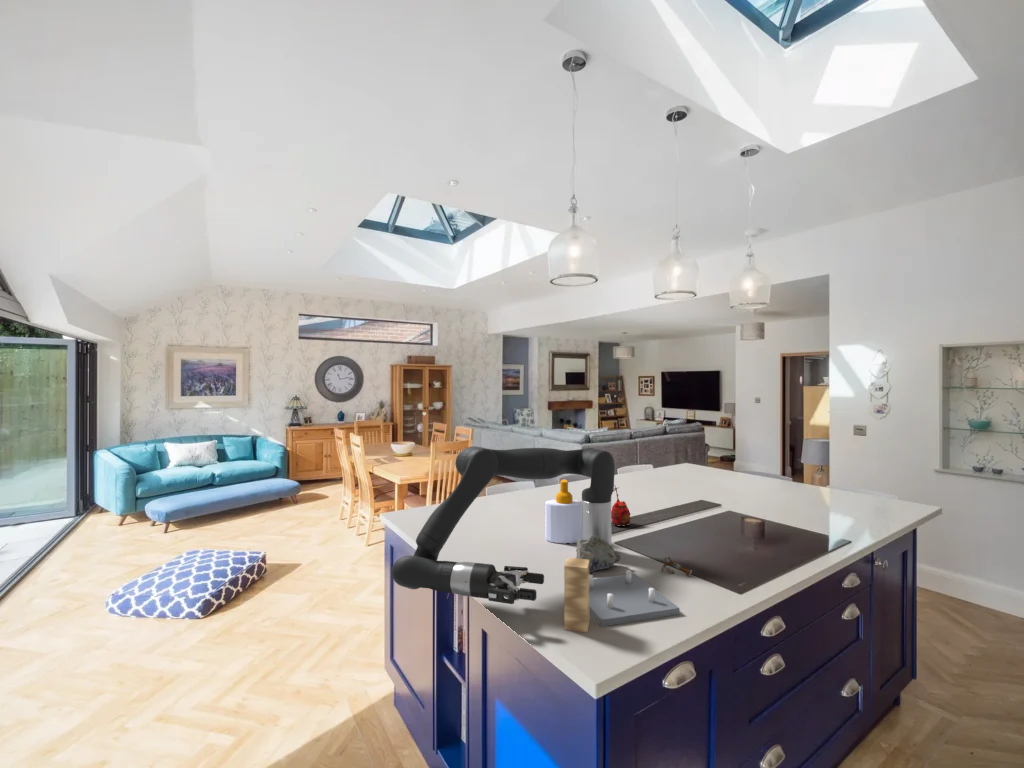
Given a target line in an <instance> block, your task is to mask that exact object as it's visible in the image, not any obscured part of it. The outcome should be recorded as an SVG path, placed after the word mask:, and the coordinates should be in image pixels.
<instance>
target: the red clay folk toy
mask: <svg viewBox="0 0 1024 768" xmlns="http://www.w3.org/2000/svg"><path fill="white" fill-rule="evenodd" d="M619 488H620V487H616V485H615V484H614V489H613V492H614V491H615V493H616V499H617V500H616V502H615V503H613V505H612V506H611V524H612V525H614V524H615V525H627V524H629V523H630V524H631V513H630V509H629V508H628V506H627V502H625V501H624V500H623V501H620V498H619V494H618V489H619Z"/></svg>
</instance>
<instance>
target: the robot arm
mask: <svg viewBox="0 0 1024 768" xmlns="http://www.w3.org/2000/svg"><path fill="white" fill-rule="evenodd" d="M454 464H455V469H456V471H457V472H458V474H459V475H461V479H460V481H459V483H458V484H457V485H456V487H455V488H454V490H453V491H452V492H451V493H450V495H448V496H447V497H446V498H445V500H443V501H442V503H440V504H439V506H437V507H436V508H435V509H434V510H433V512H432V513H431V514H430V516H429V517H428V519H427V520H426V521H425V523H424V525H423V526H422V528H421V530H420V531H419V533H418V534H417V536H416V539H415V543H416V549H415V551H414V554H413V555H404V556H402V557H400V558H398V559H397V560H396V561H395V562H394V563H393V566H392V567H391V577H392V579H393V581H394V582H395V584H397V585H398V586H400V587H403V588H407V589H410V590H417V589H420V588H421V589H429V590H432V591H436V592H439V593H440V592H441V593H447V594H456V595H458V596H463V597H471V598H479V599H488V601H490V602H495V603H502V604H507V605H515V602H517V601H519V600H524V601H531V602H532V601H534V602H535V601H536V600H537V598H538V597H537V590H536V589H532V588H527V587H526V588H525V587H520V586H521V585H522V584H526V583H528V584H537V585H543V584H544V583H545V575H544V574H543V573H537V572H529V568H528V567H527V566H526V567H523V566H515V565H514V566H513V565H504V567H503V570H502V571H498V570H496V566H495V565H494V564H492V563H483V562H482V563H481V562H472V561H471V562H470V561H450V560H449V561H448V560H438V558H439V555H440V553H441V550H442V549H443V548H444V546H445V544H446V542H447V541H448V539H449V538H450V536H451V534H452V533H453V531H454V530H455V527H456V526H457V524H458V523H460V520H461V519H462V517H463V516H464V515H465V513H466V511H467V510H468V509H469V508H470V506H471V505H472V504H473V502H474V501H475V500H476V499H477V497H479V495H480V494H481V492H482V491H483V490H484V489H485V488H486V486H487V485H488V484H489V482H491V481H492V479H493V478H494V476H500V477H501V476H504V477H510V478H517V479H524V480H549V479H550V480H551V479H554V478H557V477H559V476H562V475H566V474H567V475H568V474H569V475H580V476H584V477H588V478H590V485H589V487H588V488H585V489H583V490H582V492H581V502H582V539H583V540H584V539H585V540H586V539H588V538H590V537H591V536H593V535H595V536H597V537H599V538H601V539H602V540H605V541H606V542H608V543H609V544H610V545H611V546H612V519H611V511H612V495H613V490H614V488H615V486H614V485H615V474H616V473H615V469H616V465H615V459H614V457H613V455H612V454H611V453H610V452H609V451H607V450H604V449H599V448H598V449H597V448H589V447H588V448H580V449H569V450H563V449H557V448H548V447H524V448H523V447H522V448H521V447H520V448H511V449H492V448H487V447H486V448H485V447H480V446H475V445H474V446H468V447H465V448H464V449H462V450H460V452H459V453H458V455H456V459H455V463H454ZM519 587H520V588H519Z"/></svg>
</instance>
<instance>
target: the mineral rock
mask: <svg viewBox="0 0 1024 768" xmlns="http://www.w3.org/2000/svg"><path fill="white" fill-rule="evenodd" d="M575 551H576V558H577V559H588V560H589V573H593V572H596V571H601V570H604V569H609V568H611V567H613V565H615V564H616V563H618V562H620V561H621V560H622V557H621V554H622V552H620V551H618V550H615V549H614V548H613V547H612V544H611V545H610V544H609V543H608V542H606V541H605V540H602V539H601V538H599V537H597V536H595V535H593V536H591V537H590V538H588V539H586V540H585V539H584V540H583V539H580V540H578V541H577V543H576V550H575Z"/></svg>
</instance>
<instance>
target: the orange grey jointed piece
mask: <svg viewBox="0 0 1024 768" xmlns="http://www.w3.org/2000/svg"><path fill="white" fill-rule="evenodd" d="M663 559H664V561H665V562H664V563H663V565H662V566H661V569H660V570H661V571H662V572H663V571H664V570H666V571H667V573H669V574H670V575H671V574H673V575H674V574H675V571H674V570H673V569H671V568H670V567H669V568H668V567H667V566H669V565H672V567H675V568H676V569H678V570H680V571H681V572H683V573H684V574H685V575H687V577H688V578H689V577H690V576H691V574H692V573H693V572H692V571H693V569H687V568H685V567H683V566H681V564H679V563H676V561H674V560H672V558H671V556H663Z"/></svg>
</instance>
